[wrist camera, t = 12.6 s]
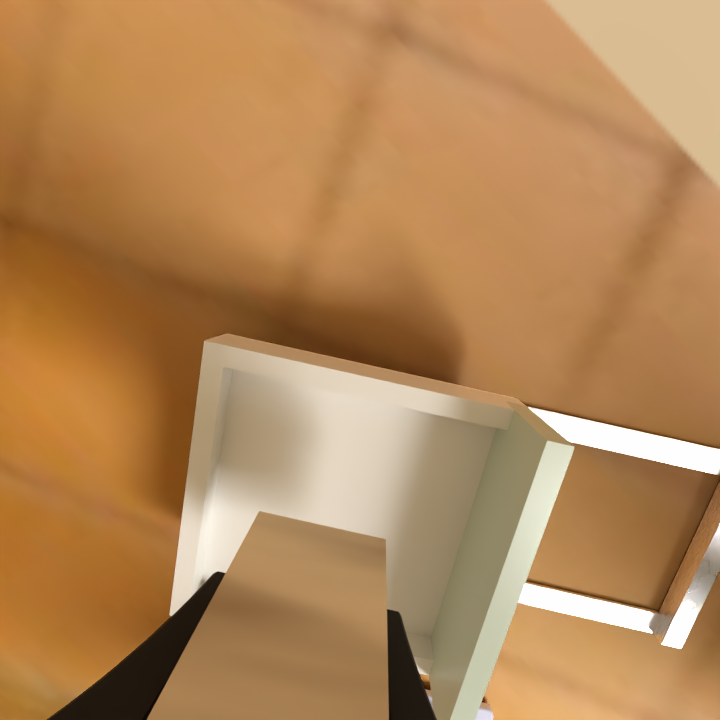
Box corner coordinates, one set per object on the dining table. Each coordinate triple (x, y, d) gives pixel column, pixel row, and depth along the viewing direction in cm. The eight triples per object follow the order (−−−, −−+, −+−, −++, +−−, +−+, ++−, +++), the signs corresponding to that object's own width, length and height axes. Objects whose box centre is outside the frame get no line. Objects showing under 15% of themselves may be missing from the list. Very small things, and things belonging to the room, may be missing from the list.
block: (359, 642, 12) (338, 976, 6) (241, 616, 12) (111, 922, 6) (385, 539, 11) (390, 811, 5) (259, 510, 11) (129, 751, 6)
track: (668, 634, 19) (681, 649, 19) (189, 524, 20) (181, 534, 19) (754, 456, 17) (772, 464, 16) (215, 336, 18) (207, 338, 17)
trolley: (434, 599, 19) (461, 757, 13) (211, 548, 19) (127, 680, 13) (500, 384, 17) (575, 446, 10) (244, 327, 17) (161, 354, 10)
